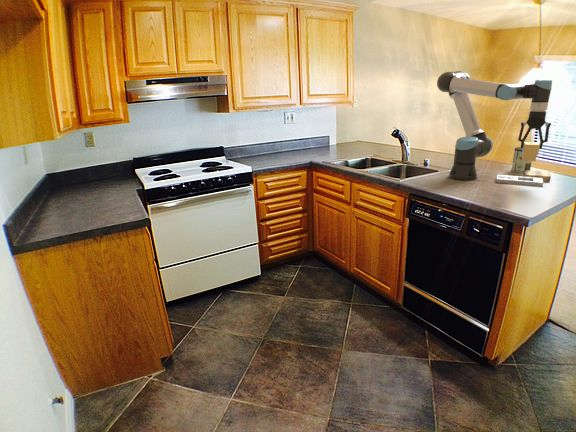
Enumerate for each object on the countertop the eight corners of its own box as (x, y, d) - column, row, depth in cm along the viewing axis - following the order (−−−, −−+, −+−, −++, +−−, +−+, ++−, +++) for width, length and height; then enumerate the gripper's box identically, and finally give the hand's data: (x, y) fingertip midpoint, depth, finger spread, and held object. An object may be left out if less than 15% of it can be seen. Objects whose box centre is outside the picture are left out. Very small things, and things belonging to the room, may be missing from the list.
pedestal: (524, 179, 214) (525, 174, 213) (524, 175, 224) (525, 170, 223) (549, 181, 208) (550, 176, 207) (548, 176, 218) (549, 171, 217)
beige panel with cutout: (496, 182, 211) (496, 178, 210) (496, 177, 220) (497, 174, 219) (542, 186, 201) (543, 182, 200) (541, 181, 210) (542, 177, 209)
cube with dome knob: (522, 160, 203) (525, 143, 200) (522, 158, 208) (525, 141, 205) (535, 161, 200) (538, 144, 197) (535, 159, 205) (538, 142, 202)
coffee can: (526, 169, 237) (530, 147, 233) (532, 173, 228) (537, 149, 223) (508, 169, 240) (512, 147, 235) (514, 172, 230) (518, 149, 225)
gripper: (517, 111, 197) (509, 154, 205) (560, 111, 188) (551, 157, 196) (517, 109, 203) (509, 152, 211) (559, 110, 194) (550, 154, 202)
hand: (529, 154), depth 203 cm, fingers closed on cube with dome knob, 6 cm apart
